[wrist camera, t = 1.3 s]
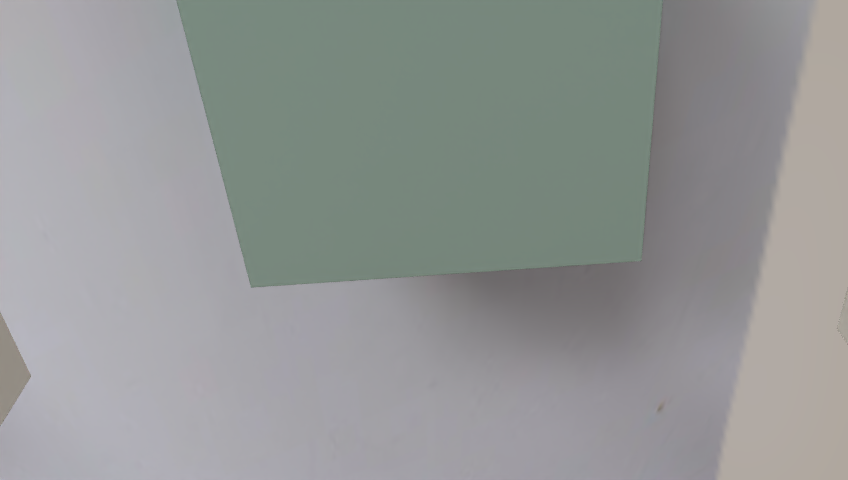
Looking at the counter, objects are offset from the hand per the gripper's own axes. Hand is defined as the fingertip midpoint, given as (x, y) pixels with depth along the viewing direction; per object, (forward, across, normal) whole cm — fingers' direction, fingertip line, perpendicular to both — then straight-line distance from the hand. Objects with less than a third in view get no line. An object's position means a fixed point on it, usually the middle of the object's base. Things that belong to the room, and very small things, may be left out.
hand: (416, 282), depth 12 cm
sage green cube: (+16, 0, 0) cm, 16 cm away
